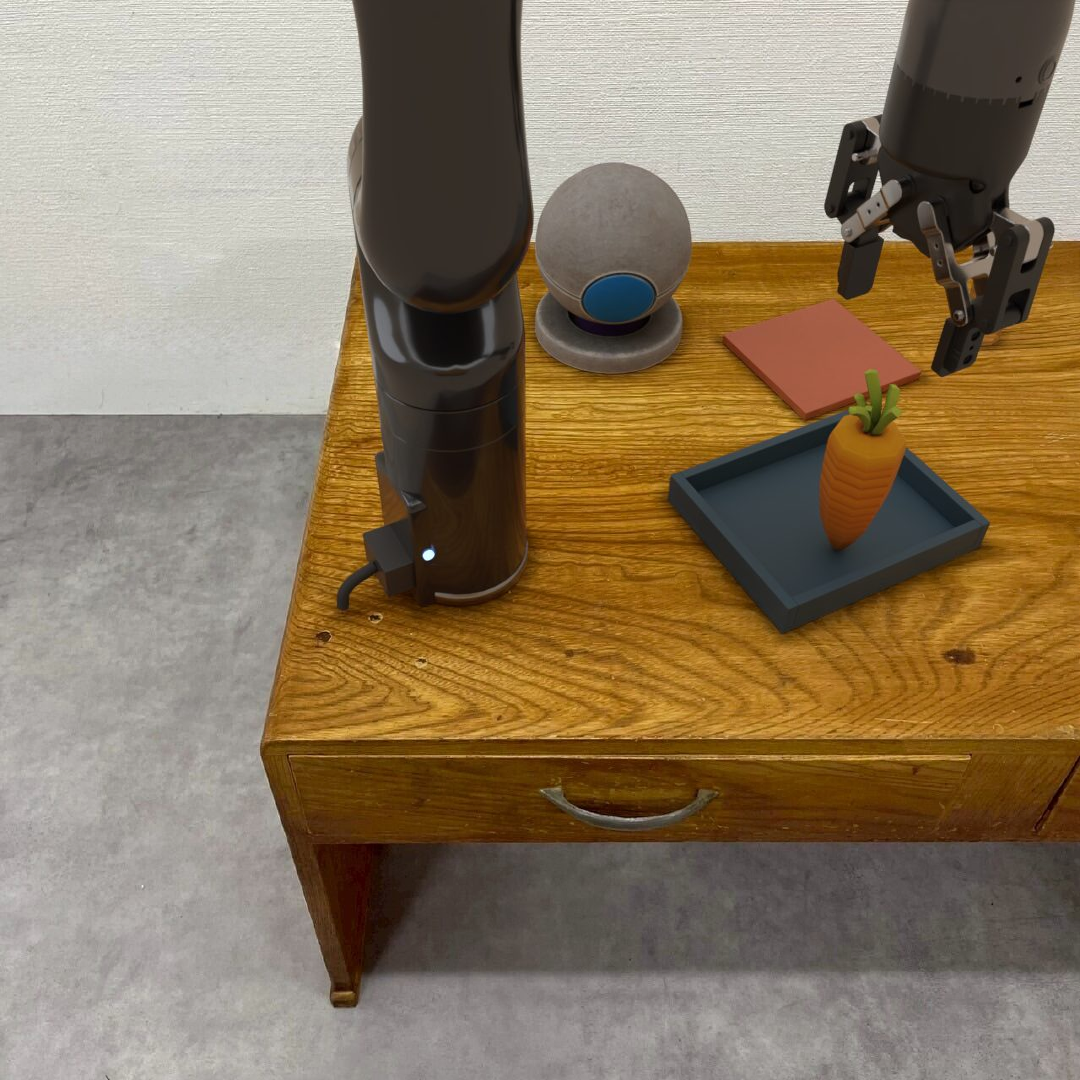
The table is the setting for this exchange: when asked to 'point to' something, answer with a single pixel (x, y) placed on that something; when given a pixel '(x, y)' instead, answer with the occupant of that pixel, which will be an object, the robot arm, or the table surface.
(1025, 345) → the table surface
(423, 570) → the robot arm
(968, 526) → the tray
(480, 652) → the table surface
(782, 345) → the tile
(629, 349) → the webcam
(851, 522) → the carrot
